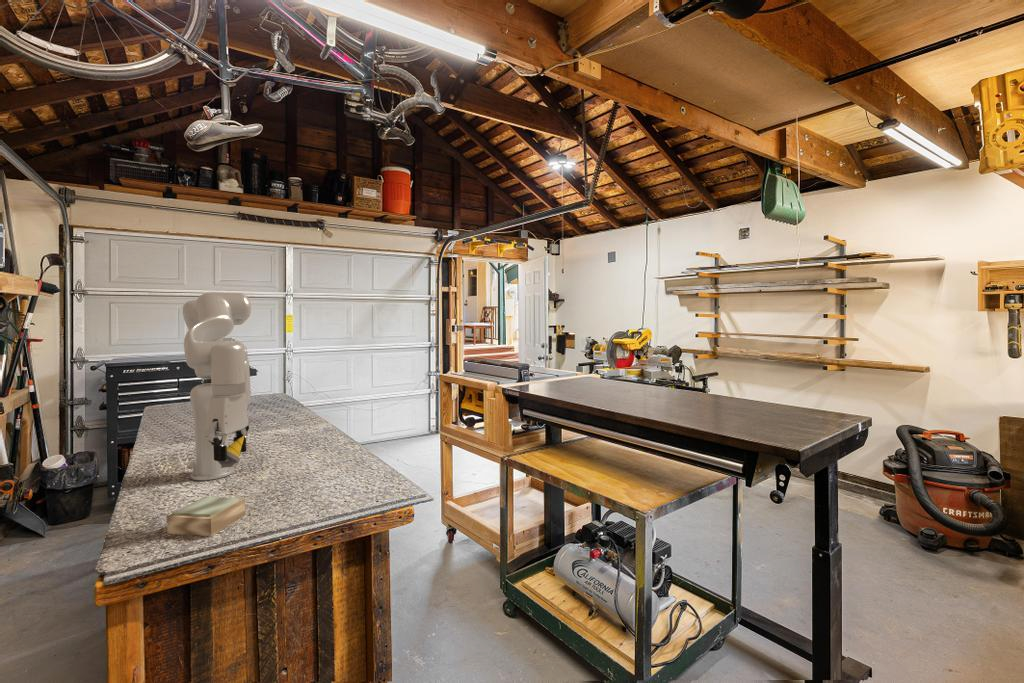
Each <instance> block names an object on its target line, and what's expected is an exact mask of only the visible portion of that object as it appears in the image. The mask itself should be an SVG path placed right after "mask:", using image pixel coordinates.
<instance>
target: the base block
mask: <svg viewBox="0 0 1024 683" xmlns="http://www.w3.org/2000/svg"><path fill="white" fill-rule="evenodd" d="M244 516H246V499H244V498H237V497H235V498H234V497H217V496H204V497H202V498H200V499H198V500H196V501H194V502H192V503H190V504H188V505H186V506H184V507H182V508H180V509H178V510H175V511H174V512H172V513H171V514H169V515H167V516H166V528H167V529H166V532H167V534H173V535H190V536H202V537H203V536H204V537H212V536H214V535H216V534H217V533H219V532H220V531H222V530H223V529H225V528H226V527H227V528H228V526H230V525H232V524H233V523H235V522H237V521H238V520H240V519H242V518H243V517H244Z"/></svg>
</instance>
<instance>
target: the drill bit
mask: <svg viewBox="0 0 1024 683" xmlns="http://www.w3.org/2000/svg"><path fill="white" fill-rule="evenodd" d="M244 437H245V435H244V436H242V437H241V438H239V439H238V440H237V441H235V442H234V441H233V442H231V444H230V445H229V446H228V447H227V460H226V461H218V462H219V463H220V465H221V468H225V467H234V465H235V464H238V463H239V462H240V455H241V452H240V451H241V448H242V444H243V440H244Z"/></svg>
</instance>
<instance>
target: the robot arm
mask: <svg viewBox="0 0 1024 683" xmlns="http://www.w3.org/2000/svg"><path fill="white" fill-rule="evenodd" d="M251 313H252V306H251V301H250V299H249V297H248V296H247V295H246V294H244V293H240V292H215V291H213V292H212V291H211V292H210V291H209V292H205V293H203V294H201V295H199V296H198V297H197V299H193V300H189V301H187V302H185V303H183V306H182V316H183V319H184V322H185V323H184V324H185V325H186V327H187V329H188V330H187V331H186V332H185V333H186V334H185V335H184V339H183V349H184V358H185V361H186V364H187V366H188V367H189V368H191V369H193V370H194V374H195V375H196V377H197V378H198V379H201V380H211V382H209V383H208V382H207V383H201V384H198V385H196V386H194V387H193V388H192V389H191V390H190V392H189V400H190V404H191V409H192V413H193V425H194V447H195V448H194V449H195V460H192V461H190V462H189V463H188V464H187V466H186V469H190V470H191V469H193V472H191V474H190V479H192V480H194V481H211V480H216V479H217V480H218V479H222V478H224V477H228V476H230V475H232V474H233V473H235V470H236V469H235V467H234V466H233V467H225V468H221V465H220V463H219V462H218V461H226V460H227V447H228V446H229V435H231V434H234V435H235V436H234V437H233V443H234V442H235V441H237V440H238V439H239V438H241V437H242V436H244V435H245V437H244V440H243V444H242V448H241V451H240V453H245V452H247V436H248V431H249V429H250V426H251V423H252V419H251V418H250V417H249V407H248V405H250V403H251V395H252V392H251V390H252V389H251V376H250V374H251V373H250V361H249V358H248V348H247V347H246V346H245V345H244V343H243V342H241V341H239V340H224V338H225V337H227V336H228V335H230V334H231V333H232V331H233V329H234V326H241V325H243V324H244V323H245V322H247V320H248V319H249V317H251Z"/></svg>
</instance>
